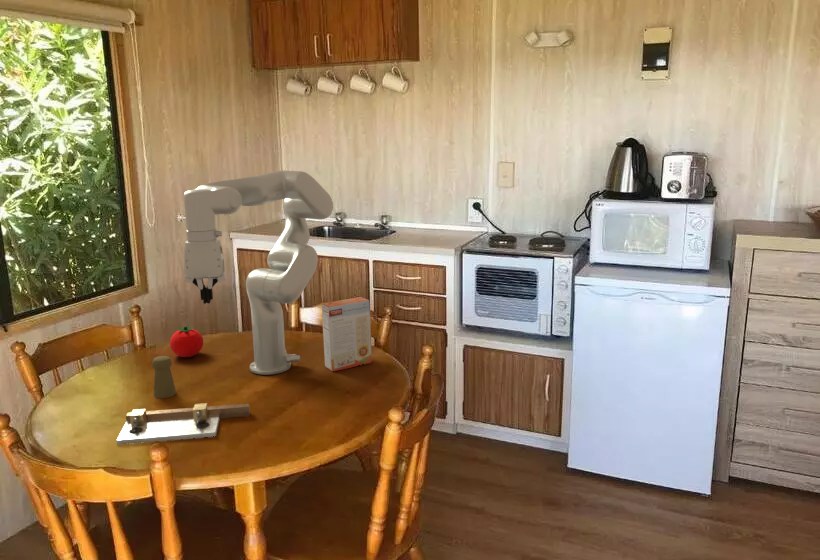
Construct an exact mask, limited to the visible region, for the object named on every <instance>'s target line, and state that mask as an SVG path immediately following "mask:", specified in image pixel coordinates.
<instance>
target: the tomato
mask: <svg viewBox="0 0 820 560" xmlns="http://www.w3.org/2000/svg"><path fill="white" fill-rule="evenodd" d="M178 329H179V330H178ZM169 341H170V342H169V346H170V349H171V351H172V352H173V353H174V354H175V355H176V356H178V357H182V358H190V357H194V356H196V355H198V354H199V353H200V351H201V350H202V349H203V347H204V337H203V335H202V334H201V333H200V332H199V331H198V330H197V329H195V327H191V328H190V325H189V324H188V325H187V326H184V327H183V328H182V327H180V326H179V327H178V326H177V330H176V331H175V332H174V333H173V334H172V335H171V337H170V340H169Z"/></svg>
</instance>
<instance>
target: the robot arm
mask: <svg viewBox="0 0 820 560" xmlns="http://www.w3.org/2000/svg"><path fill="white" fill-rule="evenodd" d="M281 200H283V207H282V208H283V212H284V218H285V219H284V220H285V226H284V229H283V230H282V232H281V234H280V236H279V237H278V238H277V240H276V242H275V243H274V244H273V246H272V247H271V248H270V251H269V253H268V255H267V259H266V260H267V261H266V262H267V265H268V267H269V268H266V267H265V268H264V267H261V268H256V269H253V270H252V271H251V272H249V273H248V275H247V277H246V279H245V289H246V293H247V297H248V301H249V305H250V314H251V330H252V332H251V333H252V345H253V357H254V358H253V360H254V361H253V362H251V363H250V364H249V371H250V372H251V373H253V374H257V375H264V376H270V375H278V374H281V373H284V372H286V371H288V370H290V369H291V367H292V363H293V362H294V363H300V362H301V355H297V353H292V354H291V353H287V349H286V346H285V345H286V344H285V323H284V312H283V307H282V304H293V303H294V302H296V301H297V300H298V299H299V298H300V297H301V295H302V294H303V292H304V291H305V288H306V287H307V286H308V284H309V282H310V280H311V278H312V277H313V275H314V274H315V272H316V270H317V266H318V263H319V262H318V261H319V257H318V253H317V250H316V249H315V248H314V247H312V246H311V245H309V244H308V243H309V240H310V237H311V236H310V235H311V234H310V229H309V227H308V226H309V225H308V223H307V219H309V220H310V219H311V220H326V219H328V218H329V217H330V216H331V215H332V213H333V211H334V201H333V199H332V196H331V195H330V194H329V193H328V192H327V191H326V189H325V188H324V187H323V186H322V185H321V184H320V183H319V182H318V181H317V180H316V179H315V178H314V177H313V176H312V175H310V174H309V173H307V172H305V171H303V170H302V171H301V170H300V171H299V170H277V171H271V172H267V173H263V174H257V175H254V176H247V177H240V178H235V179H227V180H219V181H214V182H213V181H212V182H210V183H205V184H202V185H199V186H198V187H197V188H195V189H190V190H187V191H185V192H184V194H183V203H184V204H183V205H184V206H183V207H184V215H185V229H186V237H187V238H186V239H187V240H185V242H184V252H183V263H184V264H183V267H184V269H183V270H184V282H185V283H188V284H193V285H194V286H196V287H197V288H198V289H199V292H200V294H199V295H200V300H201V301H203V304H205V305H206V304H210V303H211V301H212V300H213V297H214V296H213V288H214V287H215V285H216V284H217V283H221V282H224V281H225V280H226V279H227V277H226V275H225V261H224V260H225V259H224V253H223V246H222V243H221V240H220V239H218V238H219V237H222V236H223V232H222V230H220V231H219V230H218V229H217V228H216V227H217V225H216V216H217V215H232V214H235V213H236V212H238V211H239V210H240V209H241V207H256V206H263V205H265V204H269V203H273V202H277V201H281ZM204 279H207V285H205V283H204Z"/></svg>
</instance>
